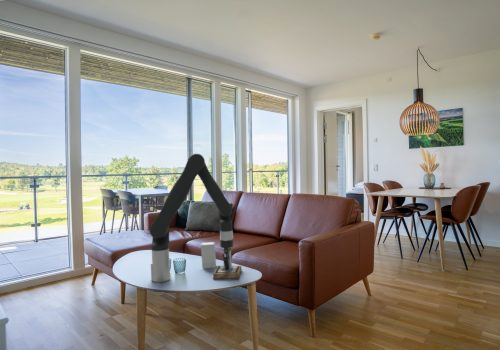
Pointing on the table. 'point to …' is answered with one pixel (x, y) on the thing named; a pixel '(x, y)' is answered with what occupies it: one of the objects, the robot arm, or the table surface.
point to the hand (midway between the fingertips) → (227, 268)
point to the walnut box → (227, 273)
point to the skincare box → (208, 255)
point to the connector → (229, 264)
